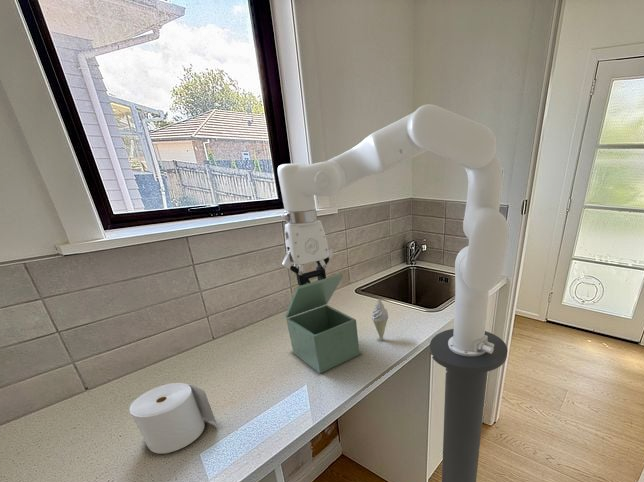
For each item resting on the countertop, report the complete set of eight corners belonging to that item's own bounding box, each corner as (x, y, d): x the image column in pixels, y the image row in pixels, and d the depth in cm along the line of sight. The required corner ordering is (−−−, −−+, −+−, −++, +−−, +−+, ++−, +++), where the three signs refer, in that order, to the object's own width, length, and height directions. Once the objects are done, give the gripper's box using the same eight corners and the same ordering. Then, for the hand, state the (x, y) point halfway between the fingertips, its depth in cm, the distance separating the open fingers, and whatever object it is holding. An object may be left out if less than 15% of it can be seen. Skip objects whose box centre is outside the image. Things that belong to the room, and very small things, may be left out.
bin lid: (343, 276, 93) (334, 261, 94) (298, 289, 84) (288, 272, 85) (327, 304, 105) (319, 291, 106) (286, 318, 97) (278, 303, 98)
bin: (359, 354, 101) (356, 319, 96) (320, 373, 92) (313, 336, 87) (331, 336, 111) (326, 304, 106) (293, 352, 102) (286, 318, 97)
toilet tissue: (141, 437, 73) (122, 401, 68) (200, 407, 81) (187, 373, 76) (157, 463, 66) (137, 425, 62) (219, 428, 74) (206, 392, 70)
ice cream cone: (389, 343, 106) (387, 300, 100) (373, 344, 106) (370, 301, 99) (389, 336, 111) (387, 294, 104) (373, 336, 110) (370, 294, 104)
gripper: (276, 224, 77) (291, 297, 85) (338, 214, 87) (346, 279, 96) (262, 220, 82) (277, 289, 90) (322, 211, 92) (331, 274, 100)
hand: (312, 283), depth 93 cm, fingers closed on bin lid, 5 cm apart
